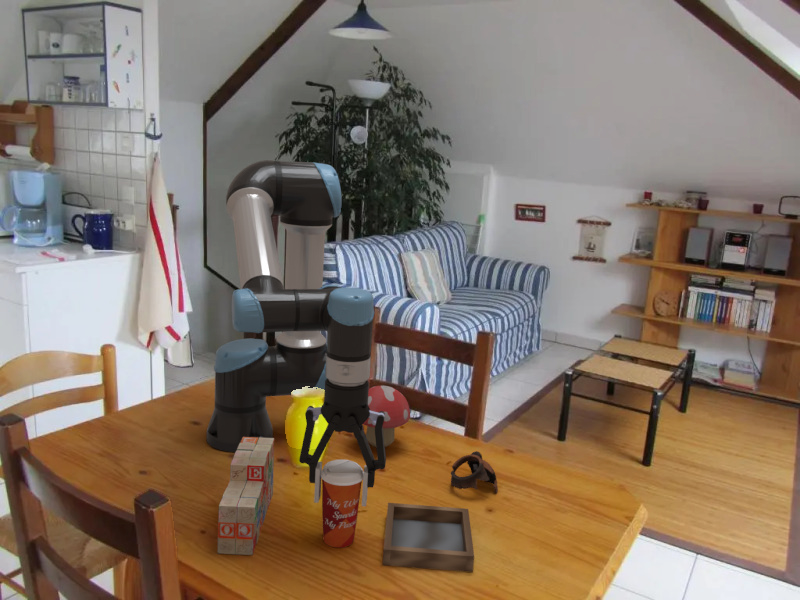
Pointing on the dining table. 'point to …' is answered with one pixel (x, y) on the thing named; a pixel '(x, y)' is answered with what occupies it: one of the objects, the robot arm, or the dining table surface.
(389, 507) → the tray
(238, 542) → the stack of blocks
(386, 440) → the decorative mushroom
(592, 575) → the dining table surface
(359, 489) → the paper cup
